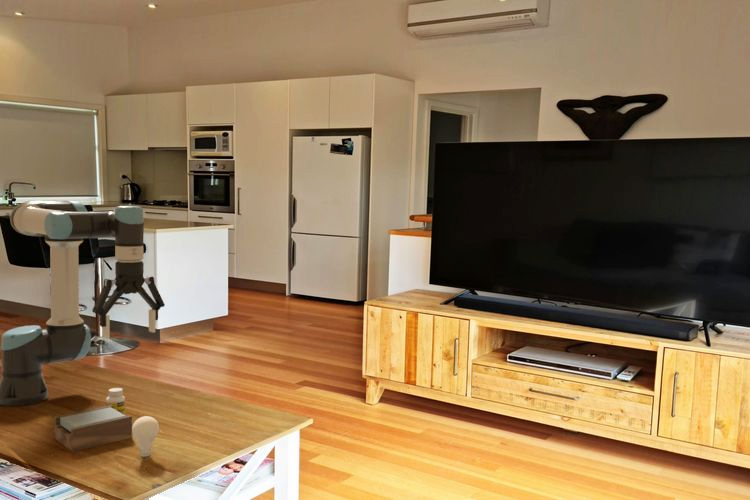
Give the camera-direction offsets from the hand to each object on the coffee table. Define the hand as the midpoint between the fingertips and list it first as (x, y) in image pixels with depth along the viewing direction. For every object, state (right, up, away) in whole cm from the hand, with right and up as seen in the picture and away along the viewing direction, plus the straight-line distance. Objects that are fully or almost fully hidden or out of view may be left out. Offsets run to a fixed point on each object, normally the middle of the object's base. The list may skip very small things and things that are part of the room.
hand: (129, 334), depth 194 cm
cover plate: (-7, -24, -7) cm, 26 cm away
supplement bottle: (-8, -27, +9) cm, 30 cm away
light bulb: (+10, -30, -17) cm, 36 cm away
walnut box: (-8, -29, -7) cm, 30 cm away
